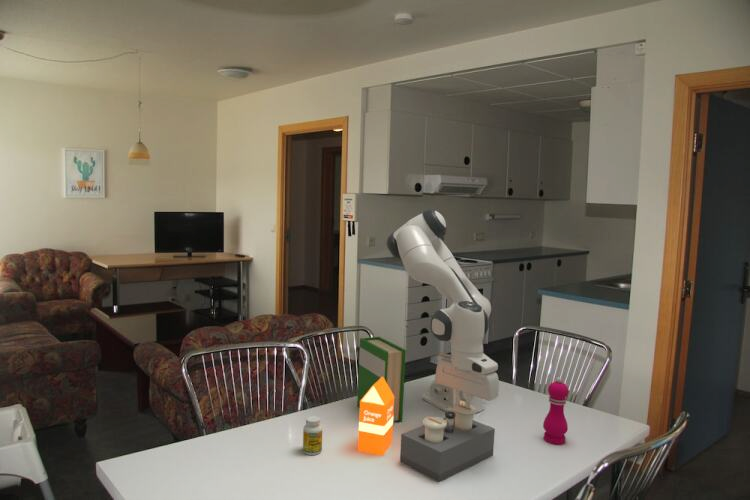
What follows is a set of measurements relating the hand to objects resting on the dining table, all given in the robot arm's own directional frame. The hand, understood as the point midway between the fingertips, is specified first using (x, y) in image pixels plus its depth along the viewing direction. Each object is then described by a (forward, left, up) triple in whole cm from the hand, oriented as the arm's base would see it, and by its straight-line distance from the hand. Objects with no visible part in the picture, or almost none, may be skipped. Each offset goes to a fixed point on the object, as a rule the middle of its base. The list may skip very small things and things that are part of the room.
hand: (464, 406), depth 162 cm
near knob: (0, -13, -11) cm, 17 cm away
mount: (0, -6, -14) cm, 15 cm away
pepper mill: (+13, +30, -14) cm, 35 cm away
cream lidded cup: (0, 0, -10) cm, 10 cm away
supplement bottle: (-27, -33, -14) cm, 45 cm away
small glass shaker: (0, -6, -6) cm, 9 cm away
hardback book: (-35, +1, -14) cm, 38 cm away
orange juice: (-18, -17, -14) cm, 29 cm away
